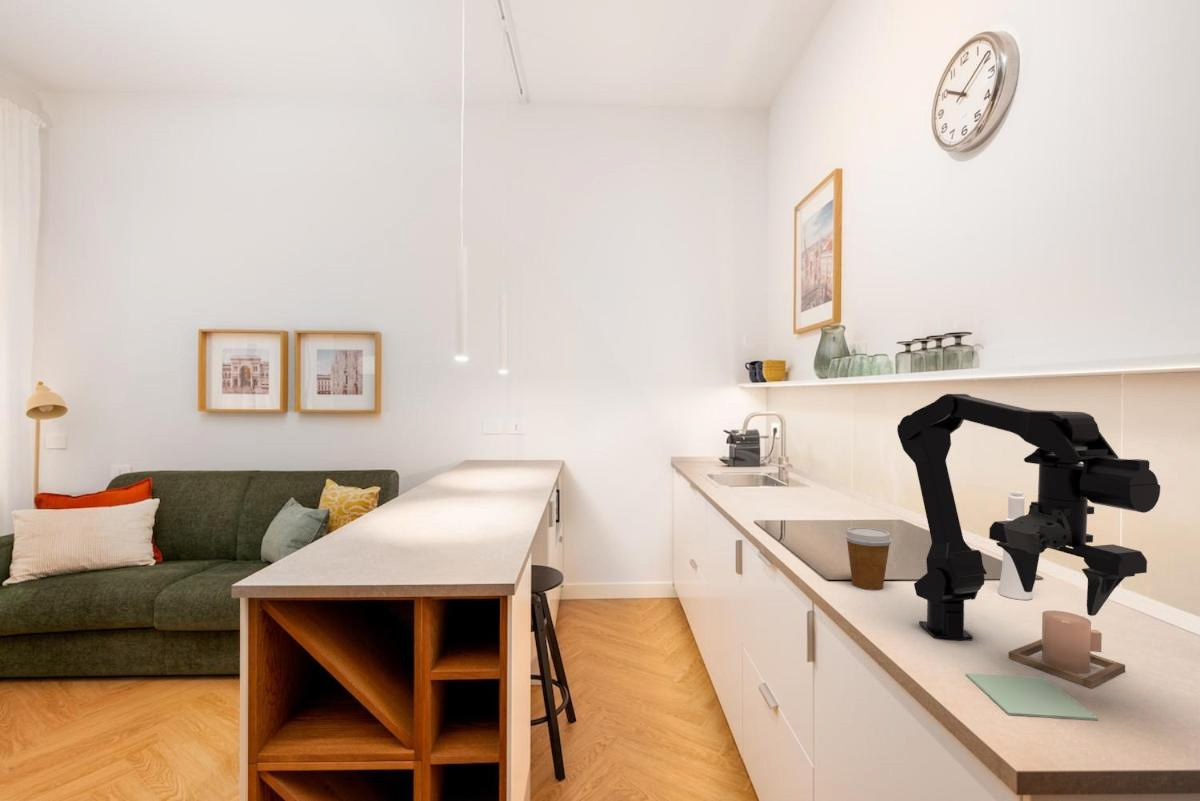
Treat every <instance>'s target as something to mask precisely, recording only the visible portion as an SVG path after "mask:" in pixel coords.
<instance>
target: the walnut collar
mask: <svg viewBox="0 0 1200 801" xmlns="http://www.w3.org/2000/svg"><path fill="white" fill-rule="evenodd" d="M1039 651H1042V638H1041V639H1038V640H1035V641H1033V642H1031V643H1028V644H1025V645H1023V646H1021V647H1018V648H1016V649H1012V650H1011V651H1008V659H1009V660H1010V659H1011V660H1012V661H1016V662H1018V663H1021V664H1024V665H1026V666H1029V667H1032V668H1034V669H1037V670H1040V671H1043V672H1045V673H1049V674H1051V675H1054V676H1055V677H1058V678H1062V679H1065V680H1068V681H1070V682H1072V683H1075V684H1079V685H1081V686H1083V687H1086V688H1090V689H1094V688H1095V687H1098V686H1100V685H1101V684H1103V683H1106V682H1107V681H1110V680H1112V679H1113V678H1115V677H1116V676H1119V675H1120V674H1123V673H1124V672H1126V664H1124V663H1121V662H1119V661H1114V660H1112V659H1109V658H1105V657H1104V656H1103V657H1102V656H1099V655H1097V654H1093V653H1091V660H1090V663H1092V664H1095V665H1098V666H1100V667H1103V668H1102V669H1099V670H1098V671H1097V672H1095V673H1092V674H1090V675H1088V676H1085V675H1083V674H1076V673H1074V672H1071V671H1068V670H1065V669H1062V668H1059V667H1057V666H1054V665H1051V664H1048V663H1045V662H1043V661H1042V660H1039V659H1036V658H1034V657H1031V655H1033V654H1035V653H1038V652H1039Z"/></svg>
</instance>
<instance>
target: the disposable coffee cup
mask: <svg viewBox="0 0 1200 801" xmlns="http://www.w3.org/2000/svg"><path fill="white" fill-rule="evenodd" d="M846 530H847V531H846V532H845V534H844V537H845V540H846V542H847V550H848V553H847V554H848V559H849V567H850V574H851V575H850V576H851V584H852V585H853V586H855V587H856V586H857V587H856V588H859V587H860V589H863V588H864V589H863V590H868V589H871V590H872V591H877V590H878V589H879V590H881V589H884V583H885V577H886V570H887V563H888V557H889V550H890V545H891V542H892V541H893V539H892V538H891V536H890V535H891V534H890V532H888V531H887V530H884V529H880V528H873V527H867V526H866V527H862V526H860V527H859V526H858V527H857V526H856V527H849V528H847V529H846ZM873 589H874V590H873ZM871 590H870V591H871Z"/></svg>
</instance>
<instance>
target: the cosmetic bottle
mask: <svg viewBox="0 0 1200 801" xmlns="http://www.w3.org/2000/svg"><path fill="white" fill-rule="evenodd" d="M1009 494H1010V495H1008V497H1007V498H1008V504H1007V505H1008V506H1007V507H1008V508H1007V518H1005V521H1011V520H1014V519H1016V518H1018V517H1020V516H1025V497H1024V496H1023V494H1024V492H1022V491H1017V490H1011V491H1009ZM1002 554H1003V555H1002V564H1001V565H1002V567H1001V573H1000V580H999V585H998V588H997V593H998V594H999V595H1000V596H1003V597H1005V598H1008V599H1012V600H1021V601H1030V600H1033V598H1034V596H1033V591H1032V592H1025V591H1024V589H1023V586H1022V583H1021V581H1020V578H1019V575H1018V573H1017V570H1016V567H1015V565H1014V562H1013V560H1012V558H1011V556H1010V555H1009V554H1008V553H1007V552H1006V551H1005V550H1004V549H1003V548H1002Z"/></svg>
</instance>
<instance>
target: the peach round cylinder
mask: <svg viewBox="0 0 1200 801" xmlns="http://www.w3.org/2000/svg"><path fill="white" fill-rule="evenodd" d="M1041 617H1042V618H1041V619H1042V620H1041V621H1042V622H1041V639H1042V650H1041V661H1042V662H1045V663H1048V664H1051V665H1054V666H1057V667H1059V668H1062V669H1065V670H1068V671H1071V672H1074V673H1076V674H1079V675H1086V674H1089V673H1090V672H1091V662H1090V660H1091V654H1092V652H1094V653H1102V635H1103V634H1102V632H1101V631H1099V630H1098V629H1092V622H1091V620H1090V619H1088V618H1087V617H1085V616H1083V615H1079V614H1077V613H1072V612H1068V611H1061V610H1045V611H1043V612H1042V616H1041Z"/></svg>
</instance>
